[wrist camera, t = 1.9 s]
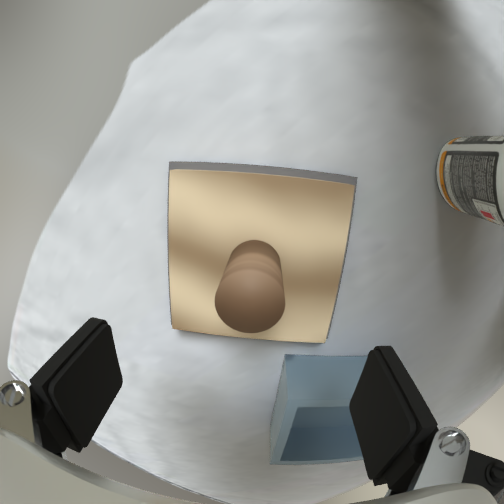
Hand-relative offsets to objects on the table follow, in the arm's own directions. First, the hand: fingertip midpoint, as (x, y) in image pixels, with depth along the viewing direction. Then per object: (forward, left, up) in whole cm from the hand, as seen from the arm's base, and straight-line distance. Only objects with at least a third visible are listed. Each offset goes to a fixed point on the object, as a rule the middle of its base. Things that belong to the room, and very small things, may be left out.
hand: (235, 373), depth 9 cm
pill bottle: (-9, +15, -11) cm, 21 cm away
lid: (-1, 0, -10) cm, 10 cm away
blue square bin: (+12, +8, -11) cm, 18 cm away
